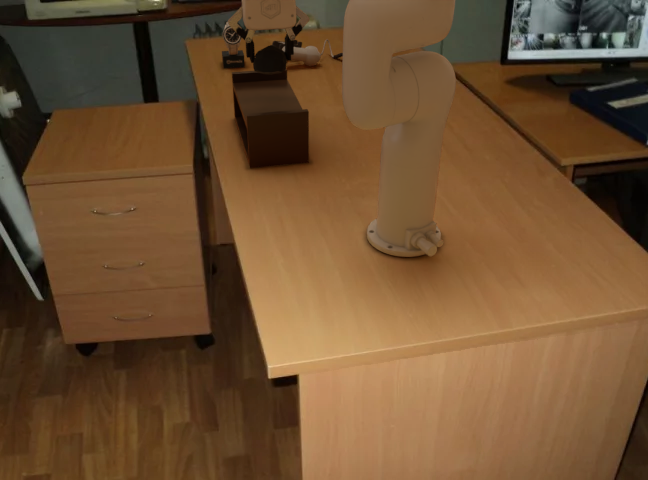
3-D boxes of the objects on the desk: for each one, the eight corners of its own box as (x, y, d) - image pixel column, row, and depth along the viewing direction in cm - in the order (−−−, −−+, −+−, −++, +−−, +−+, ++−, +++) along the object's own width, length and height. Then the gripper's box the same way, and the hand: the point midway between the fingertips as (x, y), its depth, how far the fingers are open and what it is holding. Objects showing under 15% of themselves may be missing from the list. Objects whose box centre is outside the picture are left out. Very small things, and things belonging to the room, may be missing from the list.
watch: (224, 71, 190) (221, 28, 184) (222, 60, 196) (219, 18, 190) (245, 69, 191) (243, 27, 184) (243, 59, 197) (240, 17, 191)
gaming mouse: (291, 52, 153) (290, 33, 150) (283, 77, 141) (283, 57, 138) (261, 51, 153) (260, 32, 151) (251, 76, 141) (250, 56, 138)
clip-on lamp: (330, 62, 205) (269, 54, 198) (334, 39, 202) (273, 30, 195) (345, 72, 195) (282, 64, 188) (350, 48, 193) (286, 38, 185)
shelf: (308, 162, 148) (308, 111, 141) (249, 168, 145) (246, 116, 139) (287, 115, 167) (286, 68, 161) (234, 119, 165) (231, 72, 158)
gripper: (222, -29, 131) (229, 68, 142) (316, -33, 134) (316, 63, 145) (218, -39, 137) (224, 56, 148) (308, -42, 140) (309, 50, 151)
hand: (270, 58), depth 146 cm, fingers closed on gaming mouse, 6 cm apart
